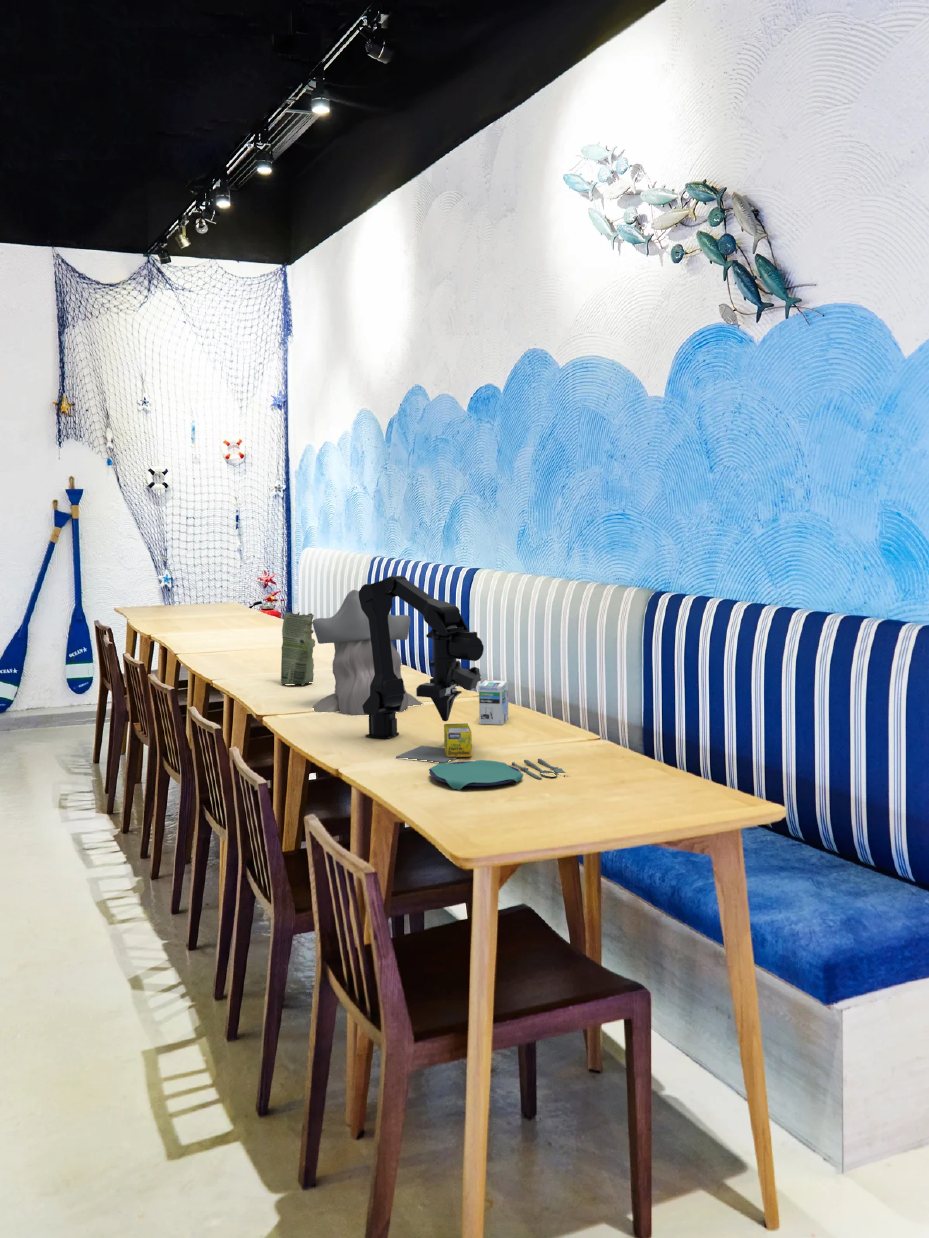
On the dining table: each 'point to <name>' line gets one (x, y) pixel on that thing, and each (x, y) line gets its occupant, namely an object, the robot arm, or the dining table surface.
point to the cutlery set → (484, 772)
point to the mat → (427, 754)
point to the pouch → (297, 649)
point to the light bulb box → (493, 702)
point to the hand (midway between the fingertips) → (445, 721)
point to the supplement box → (457, 740)
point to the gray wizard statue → (356, 656)
